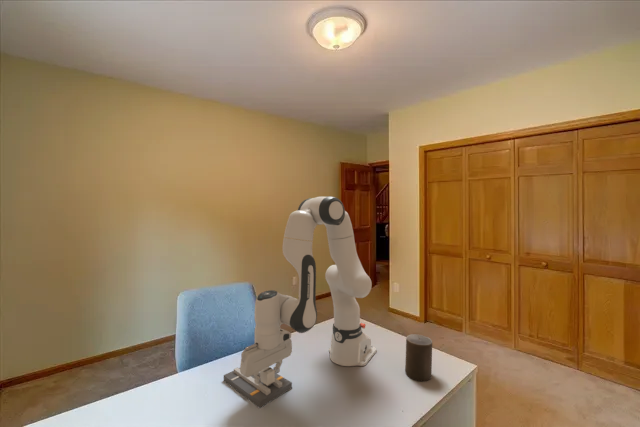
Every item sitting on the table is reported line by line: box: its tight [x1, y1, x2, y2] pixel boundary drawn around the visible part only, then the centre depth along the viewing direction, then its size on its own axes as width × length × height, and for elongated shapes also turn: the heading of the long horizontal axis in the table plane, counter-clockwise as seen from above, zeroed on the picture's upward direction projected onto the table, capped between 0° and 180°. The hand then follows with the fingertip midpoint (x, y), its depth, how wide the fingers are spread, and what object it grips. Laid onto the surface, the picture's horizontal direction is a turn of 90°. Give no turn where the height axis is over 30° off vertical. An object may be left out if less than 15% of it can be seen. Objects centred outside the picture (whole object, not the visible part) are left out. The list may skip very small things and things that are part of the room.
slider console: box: [223, 367, 293, 409], centre depth 107 cm, size 14×22×3 cm, turn 48°
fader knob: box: [260, 366, 275, 387], centre depth 103 cm, size 3×4×5 cm
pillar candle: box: [404, 333, 433, 382], centre depth 114 cm, size 10×10×15 cm
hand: (267, 377), depth 103 cm, fingers open, 7 cm apart
